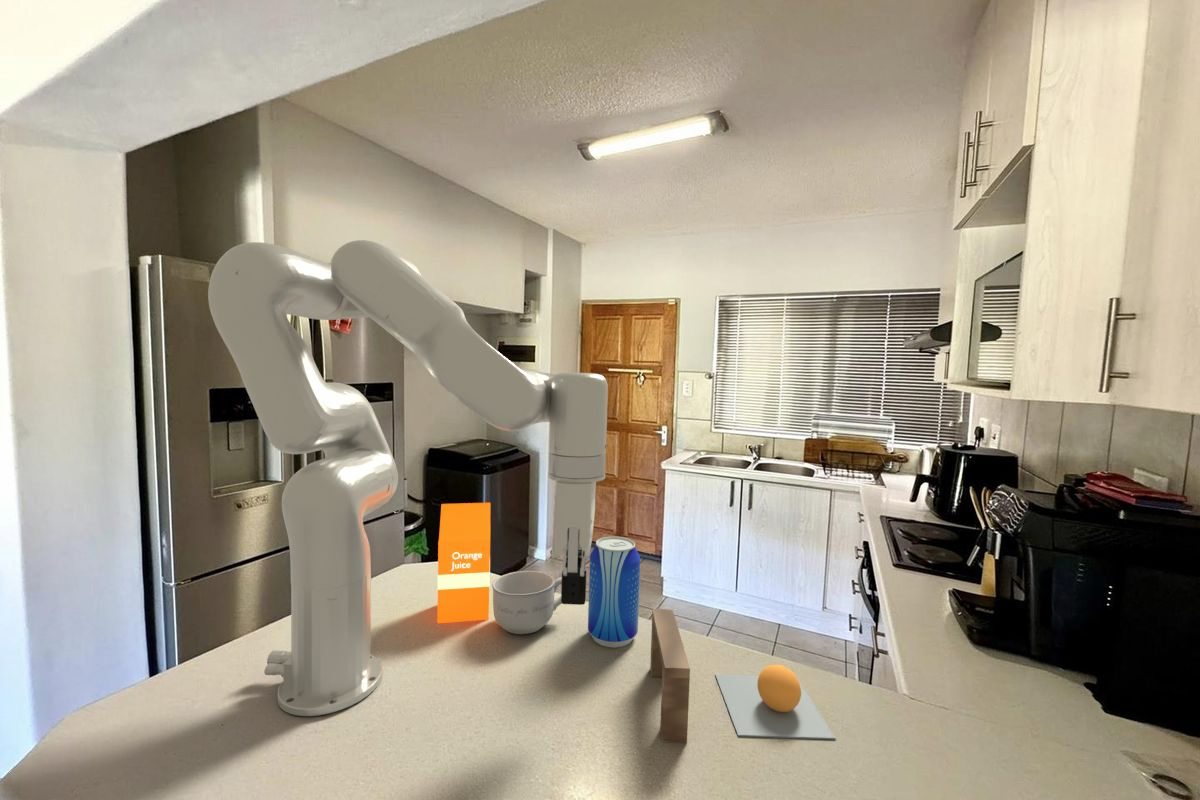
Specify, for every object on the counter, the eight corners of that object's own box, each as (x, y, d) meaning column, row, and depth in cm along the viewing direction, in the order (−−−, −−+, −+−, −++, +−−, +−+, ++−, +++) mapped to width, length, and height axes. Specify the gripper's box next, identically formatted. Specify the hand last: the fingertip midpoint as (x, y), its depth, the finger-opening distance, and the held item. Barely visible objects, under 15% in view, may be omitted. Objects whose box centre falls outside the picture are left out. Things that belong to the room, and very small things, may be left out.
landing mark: (737, 736, 60) (738, 734, 60) (715, 675, 72) (715, 674, 72) (835, 739, 60) (835, 737, 60) (796, 678, 72) (796, 676, 72)
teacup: (489, 644, 78) (490, 595, 78) (493, 611, 89) (494, 568, 89) (575, 639, 80) (576, 592, 80) (569, 607, 91) (570, 566, 91)
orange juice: (489, 619, 86) (490, 508, 85) (436, 623, 84) (438, 510, 83) (489, 599, 94) (491, 497, 92) (441, 602, 92) (442, 498, 91)
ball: (806, 723, 62) (764, 721, 62) (790, 695, 68) (751, 693, 68) (809, 681, 62) (765, 679, 62) (792, 657, 68) (753, 655, 68)
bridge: (662, 741, 58) (664, 667, 58) (650, 668, 73) (652, 608, 72) (687, 742, 58) (690, 668, 58) (670, 669, 73) (672, 609, 72)
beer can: (634, 653, 77) (637, 554, 76) (582, 646, 78) (585, 549, 78) (640, 626, 85) (643, 537, 84) (593, 620, 87) (596, 532, 86)
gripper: (554, 455, 71) (551, 577, 72) (541, 477, 57) (538, 630, 58) (605, 457, 71) (601, 579, 72) (605, 479, 56) (601, 632, 57)
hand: (573, 601), depth 65 cm, fingers closed
